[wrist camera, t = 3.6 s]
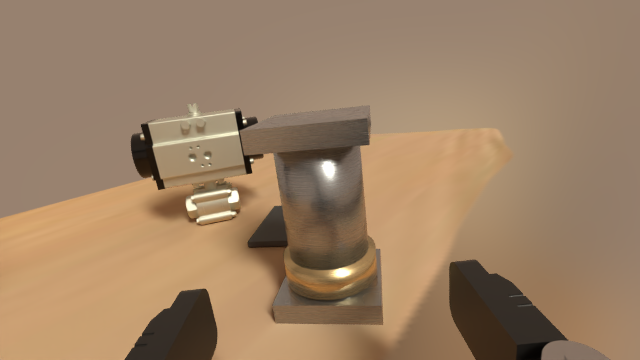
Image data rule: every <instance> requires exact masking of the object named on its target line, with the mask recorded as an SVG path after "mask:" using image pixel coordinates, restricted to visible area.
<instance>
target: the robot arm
mask: <svg viewBox="0 0 640 360" xmlns="http://www.w3.org/2000/svg"><path fill="white" fill-rule="evenodd" d="M449 278H450V280H449V281H450V282H449V283H450V284H449V285H450V286H449V288H450V289H449V291H450V292H449V295H450V296H449V300H450V310H451V314H452V317H453V320H454V322H455V324H456V326H457V328H458V329H459V331H460V333H461V334H462V336H463V338H464V340H465V342H466V343H467V345H468V347H469V348H470V350H471V352H472V354H473V356H474V357H475V359H476V360H610V359H609V358H607V357H606V356H605V355H604V354H602V353H600V352H599V351H597V350H595V349H593V348H591V347H589V346H586V345H584V344H581V343H577V342H573V341H568V340H567V339H566V338H565V336H564V335H562V333H561V332H560V331H559V330H558V329H557V328H556V327H555V326H554V325H552V323H551V322H550V321H549V320H548V319H547V318H546V317H545V316H544V315H543V314H542V313H541V312H540V311H539V310H538V309H537V308H536V307H535V306H533V305H532V302H531V301H530V300H529V299H528V298H527V297H526V296H523V293H522V292H521V291H520V290H519V289H518V288H517V287H516V286H515V285H514V284H513V283H512V282H510V281H509V280H507V279H505V278H503V277H501V276H500V275H498V274H489V273H488V272H487V271H486V270H485V269H484V268H483V267H482V266H481V264H480V263H479V262H478V261H476V260H467V261H457V262H451V264H450V269H449ZM216 344H217V326H216V322H215V318H214V314H213V310H212V306H211V302H210V298H209V294H208V292H207V290H206V289H196V290H187V291H181V292H180V293H179V295H178V296H177V298H176V299H175V301H174V303H173V304H172V306H171V307H170V308H168V309H164V310H163V311H162V312H160V313H159V314H158V315H157V316H156V317H155V318H153V319H152V320H151V321H150V323H149V324H148V326H147V327H146V329H145V330H144V332H143V333H142V336H140V337H139V339H138V340H137V342H136V343H135V347H134V348H132V349H131V351H130V352H129V354H128V355H127V357H126V358H125V360H211V359H212V357H213V354H214V351H215V348H216Z"/></svg>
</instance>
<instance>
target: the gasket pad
mask: <svg viewBox="0 0 640 360" xmlns="http://www.w3.org/2000/svg"><path fill="white" fill-rule="evenodd" d="M248 246H249V247H270V246H288V240H287V234H286V228H285V222H284V216H283V210H282V206H274V208H273V209H272V210H271V212H270V213H269V214H268V216H267V217H266V218H265V220H264V221H263V222H262V224H261V225H260V226H259V227H258V229H257V230H256V231H255V233H254V234H253V235H252V237H251V238H250V239H249V241H248Z"/></svg>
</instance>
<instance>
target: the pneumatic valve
mask: <svg viewBox="0 0 640 360" xmlns="http://www.w3.org/2000/svg"><path fill="white" fill-rule="evenodd" d="M187 106H188V110H189V113H188V114H187V115H186V116H179V117H171V118H165V119H157V120H151V121H148V122H146V123H143V124H141V127H142V131H143V133H137V134H133V135H132V138H131V151H132V156H133V160H134V164H135V166H136V169H137V171H138V173H139V174H140V175H141V177H143V178H148V177H151V178H152V180H153V181H154V180H156V183H157V187H158V190H161V189H166V188H172V187H177V186H183V185H189V184H192V185H193V187H194V188H196V189H193V190H194V195H191V196H187V197H186V208H187V212H188V215H189V217H190V218H197V217H199V218H197V224H201V225H205V224H210V223H215V222H220V221H225V220H229V219H232V217H235V216H236V215H237V213H236V212H235V211H232V210H237V209H240V208H241V204H240V198H239V193H238V189H237V188H236V187H234V188H231V186H232V184H230V182H229V183H226V181H225V182H224V178H228V177H234V176H240V175H245V174H251V173H252V169H251V164H254V160H255V159H261V158H263V154H255V155H244V152H243V146H242V141H241V136H240V130H243V129H245V128H247V127H249V126H252V125H254V124H256V123H258V121H257V118H256V117H250V118H245V117H242V114H241V110H240V108H238V109H231V110H223V111H216V112H209V113H202V112H199V109H198V105H197V104H193V106H192V105H191V104H189V105H187ZM216 181H218V183H216ZM199 184H204V185H202V186H199ZM228 188H229V189H228Z"/></svg>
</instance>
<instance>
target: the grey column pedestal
mask: <svg viewBox="0 0 640 360" xmlns="http://www.w3.org/2000/svg"><path fill="white" fill-rule="evenodd" d="M370 129H371V120H370V106H359V107H350V108H340V109H331V110H323V111H312V112H303V113H294V114H284V115H275V116H273V117H270V118H268V119H266V120H264V121H261V122H259V123H256V124H254V125H252V126H249V127H247V128H245V129H243V130H240V136H241V141H242V146H243V152H244V155H255V154H267V153H273V154H274V160H275V166H276V172H277V179H278V185H279V191H280V197H281V203H282V210H283V216H284V222H285V228H286V234H287V240H288V246H287V247H286V249H285V250H284V253H283V258H284V264H285V270H286V276H285V278H284V280H283V283H282V285H281V287H280V289H279V292H278V294H277V296H276V298H275V301H274V303H273V305H272V306H273V311H274V317H275V322H276V323H288V324H366V325H383V304H382V274H381V255H380V249H375V243H374V241H373V240H372V238H371V237H369V236H368V234H367V223H366V211H365V199H364V187H363V175H362V164H361V152H360V146H361V145H369V143H370Z"/></svg>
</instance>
